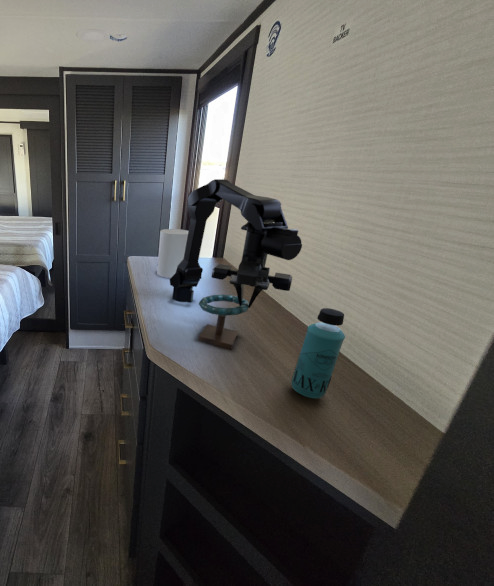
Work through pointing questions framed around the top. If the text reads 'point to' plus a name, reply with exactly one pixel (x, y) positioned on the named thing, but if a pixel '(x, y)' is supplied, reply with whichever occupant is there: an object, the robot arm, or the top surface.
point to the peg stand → (218, 334)
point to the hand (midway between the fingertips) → (244, 306)
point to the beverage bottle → (319, 354)
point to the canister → (171, 251)
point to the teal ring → (223, 311)
